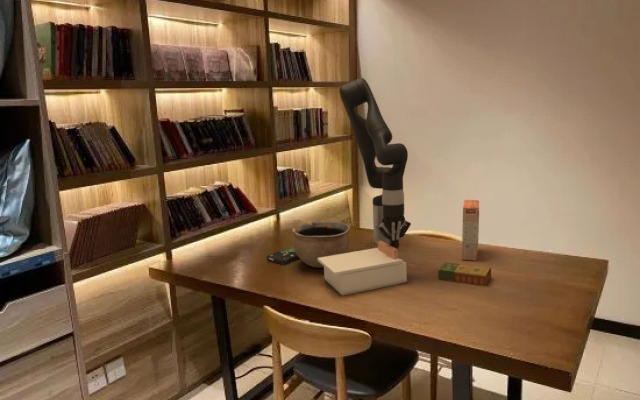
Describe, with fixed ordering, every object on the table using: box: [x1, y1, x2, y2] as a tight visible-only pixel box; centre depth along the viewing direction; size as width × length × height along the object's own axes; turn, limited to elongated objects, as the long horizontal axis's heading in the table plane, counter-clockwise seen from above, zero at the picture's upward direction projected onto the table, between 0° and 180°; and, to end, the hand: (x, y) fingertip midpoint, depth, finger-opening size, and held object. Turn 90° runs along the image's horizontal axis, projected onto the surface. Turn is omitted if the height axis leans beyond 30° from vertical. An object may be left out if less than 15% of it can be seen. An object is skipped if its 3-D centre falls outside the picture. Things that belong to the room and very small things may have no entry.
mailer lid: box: [317, 241, 404, 276], centre depth 162 cm, size 25×16×4 cm, turn 110°
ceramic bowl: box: [292, 220, 351, 269], centre depth 182 cm, size 22×22×15 cm
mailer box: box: [323, 260, 408, 296], centre depth 164 cm, size 24×16×7 cm, turn 110°
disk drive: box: [266, 246, 301, 266], centre depth 193 cm, size 10×3×15 cm
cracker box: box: [461, 199, 480, 262], centre depth 183 cm, size 14×6×21 cm, turn 161°
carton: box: [437, 261, 492, 287], centre depth 162 cm, size 8×16×4 cm, turn 59°
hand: (394, 249), depth 167 cm, fingers closed
